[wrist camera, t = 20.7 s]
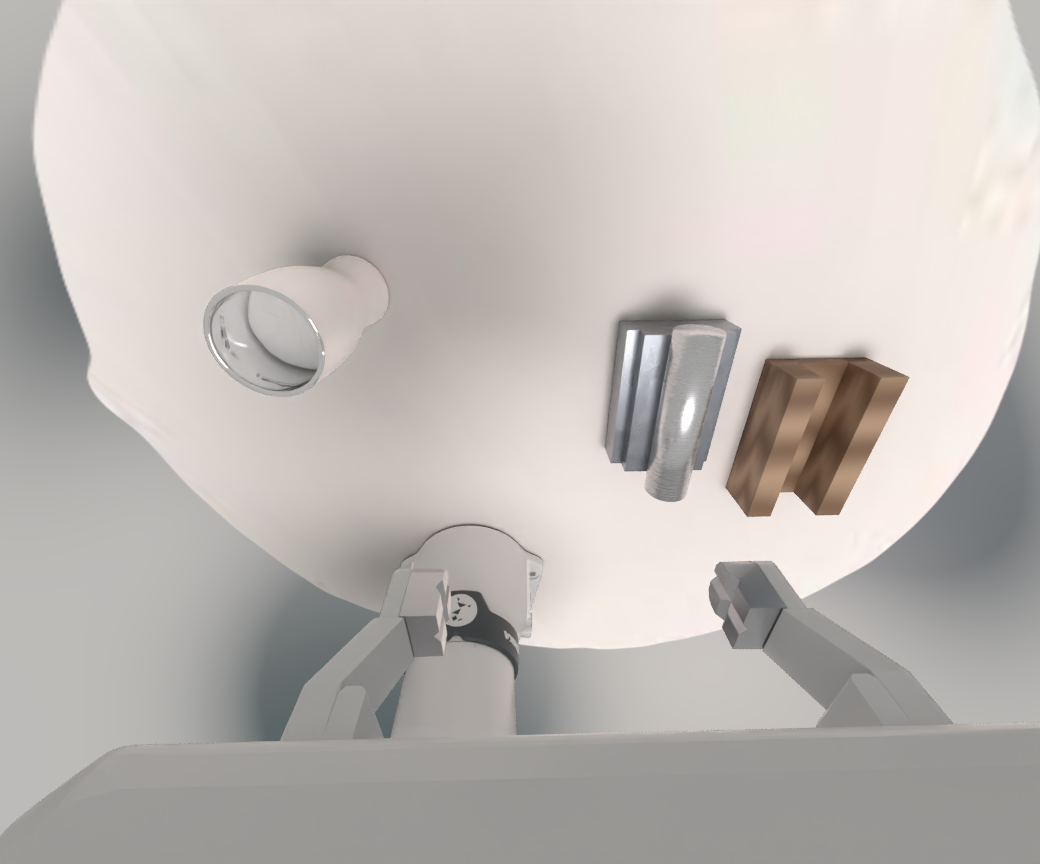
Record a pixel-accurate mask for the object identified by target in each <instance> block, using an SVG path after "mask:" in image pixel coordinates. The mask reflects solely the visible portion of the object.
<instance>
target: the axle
mask: <svg viewBox="0 0 1040 864" xmlns="http://www.w3.org/2000/svg"><path fill="white" fill-rule="evenodd" d="M726 335H727V333H726V332H725V331H724V330H722V329H719V328H716V327H712V326H707V325H698V324H685V325H679V326H676V327H674V328H673V332H672V338H671V343H670V349H669V354H668V359H667V365H666V370H665V376H664V381H663V387H662V392H661V397H660V403H659V408H658V414H657V419H656V425H655V430H654V436H653V441H652V446H651V452H650V457H649V463H648V468H647V474H646V479H645V485H644V487H645V490H646V491H647V493H648V494H650V495H651V496H652V497H654V498H656V499H659V500H662V501H667V502H676V501H680V500H682V499H683V498H684V497H685V496H686V493H687V489H688V485H689V481H690V477H691V473H692V469H693V465H694V461H695V457H696V453H697V449H698V445H699V442H700V438H701V434H702V430H703V426H704V422H705V418H706V414H707V410H708V406H709V402H710V398H711V394H712V390H713V387H714V383H715V379H716V375H717V371H718V367H719V363H720V359H721V355H722V351H723V347H724V343H725V339H726Z"/></svg>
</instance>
